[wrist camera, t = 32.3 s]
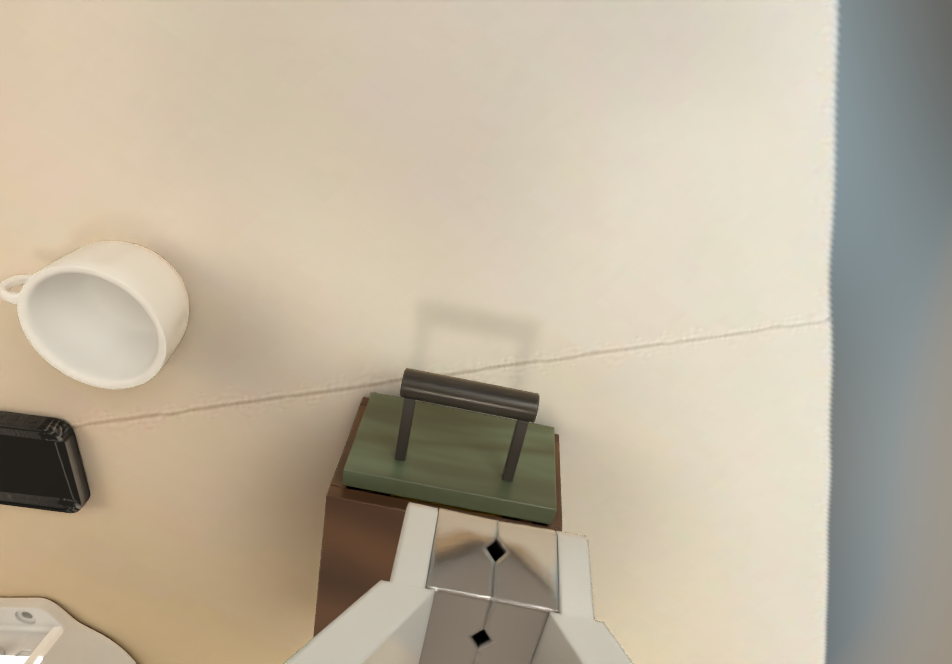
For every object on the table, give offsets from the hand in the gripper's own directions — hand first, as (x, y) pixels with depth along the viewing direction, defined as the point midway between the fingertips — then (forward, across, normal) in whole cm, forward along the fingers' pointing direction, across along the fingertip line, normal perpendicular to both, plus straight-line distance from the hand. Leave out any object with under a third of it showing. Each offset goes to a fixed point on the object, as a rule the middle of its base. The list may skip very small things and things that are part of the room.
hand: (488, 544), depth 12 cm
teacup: (+27, +21, +13) cm, 37 cm away
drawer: (+26, 0, +21) cm, 34 cm away
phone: (+27, +33, +29) cm, 52 cm away
